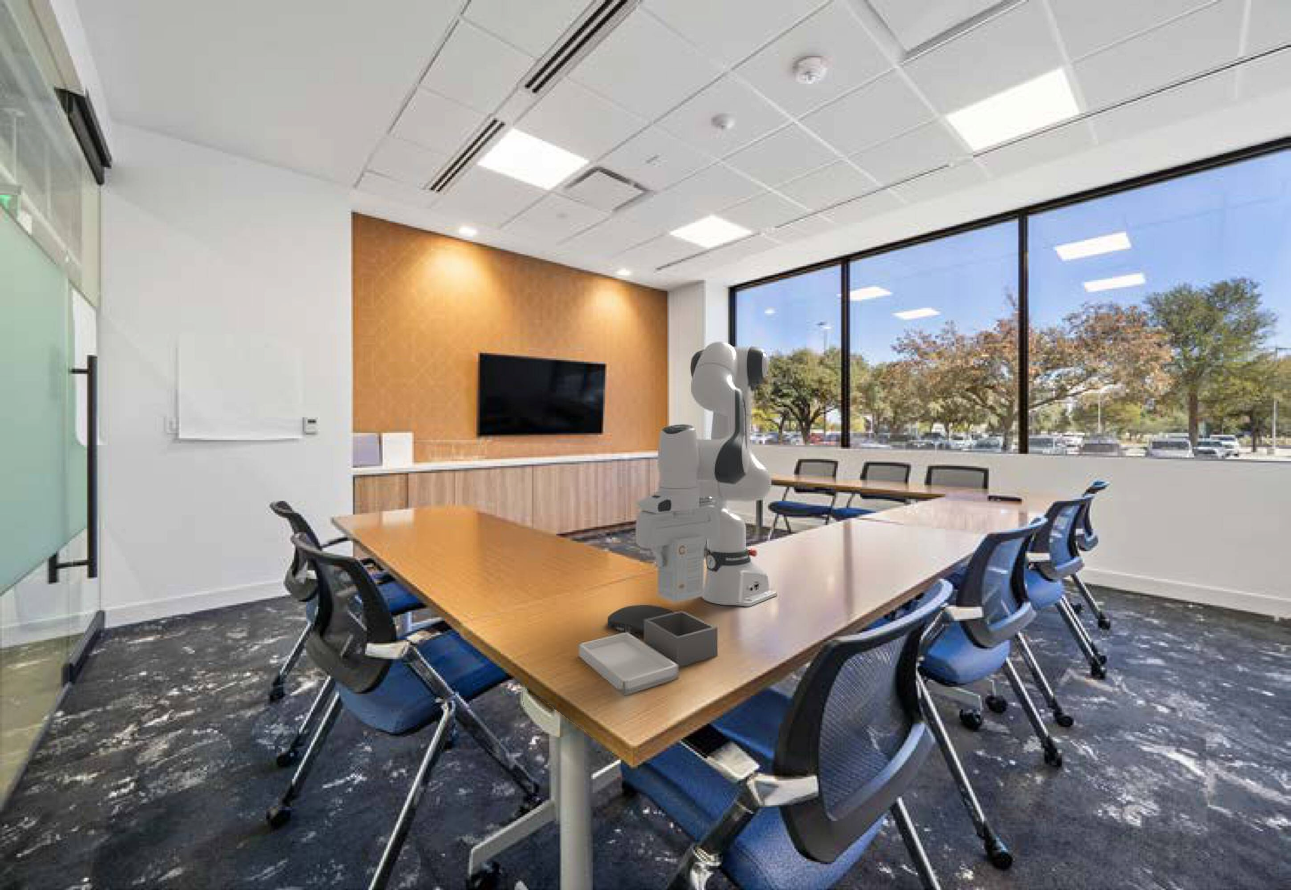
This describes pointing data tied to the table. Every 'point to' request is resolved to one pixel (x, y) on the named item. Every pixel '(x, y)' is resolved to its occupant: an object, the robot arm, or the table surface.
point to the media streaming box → (634, 618)
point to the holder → (681, 637)
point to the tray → (628, 663)
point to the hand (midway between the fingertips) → (679, 563)
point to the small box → (682, 569)
